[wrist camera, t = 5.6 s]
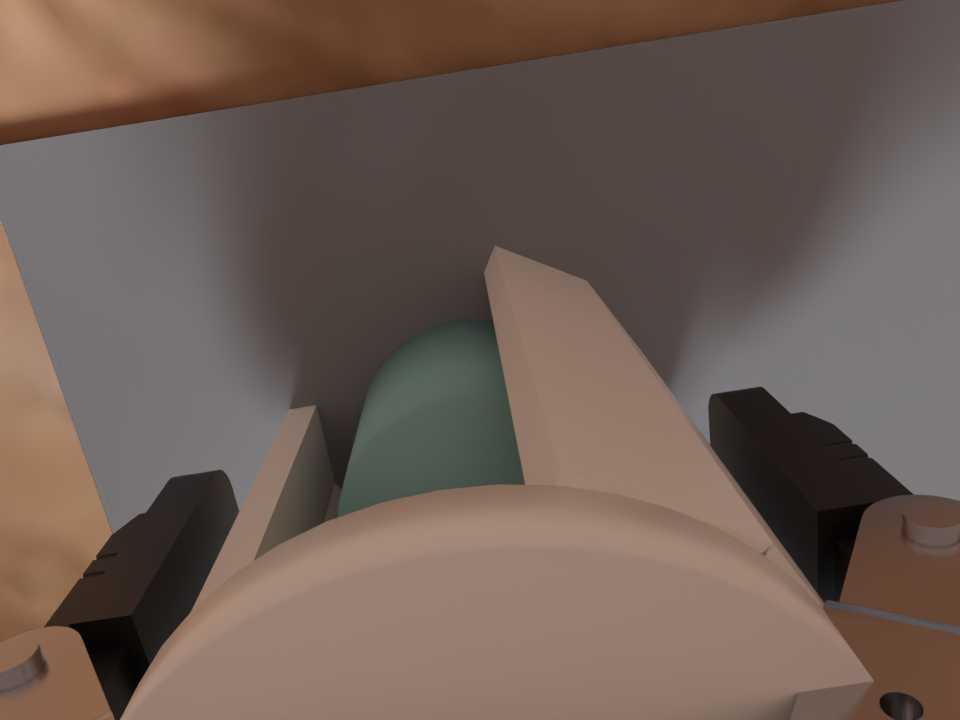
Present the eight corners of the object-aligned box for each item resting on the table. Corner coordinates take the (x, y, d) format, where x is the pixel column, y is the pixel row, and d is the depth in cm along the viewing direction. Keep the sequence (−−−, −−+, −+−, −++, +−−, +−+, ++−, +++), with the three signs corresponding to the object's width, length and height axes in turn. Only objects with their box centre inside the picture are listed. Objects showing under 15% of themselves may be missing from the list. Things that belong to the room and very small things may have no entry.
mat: (1473, -92, 13) (1505, -98, 12) (1300, 630, 17) (1319, 642, 17) (-10, 146, 13) (-24, 149, 12) (214, 792, 17) (209, 808, 17)
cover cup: (631, 223, 13) (962, 472, 5) (660, 547, 15) (923, 1121, 7) (257, 283, 13) (-76, 631, 5) (336, 597, 15) (201, 1223, 7)
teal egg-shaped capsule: (569, 302, 14) (608, 372, 10) (592, 504, 15) (633, 622, 12) (341, 338, 14) (308, 419, 10) (384, 535, 15) (367, 662, 12)
